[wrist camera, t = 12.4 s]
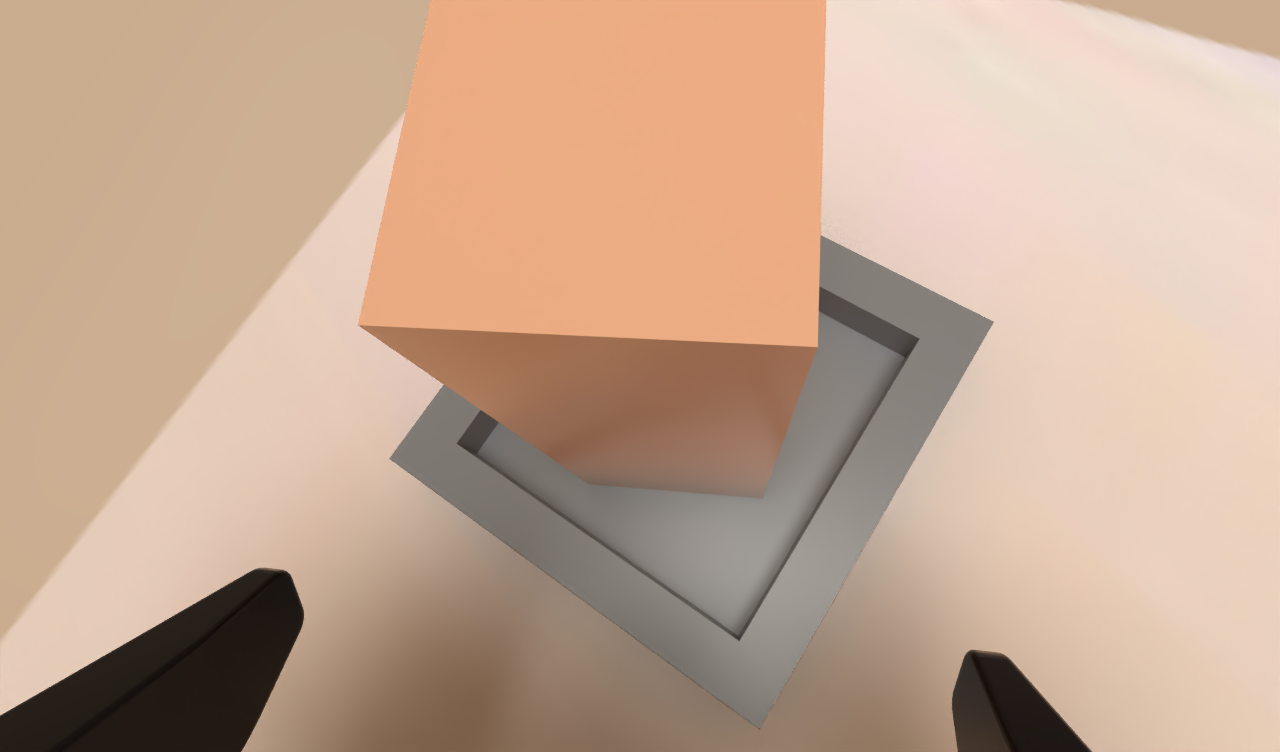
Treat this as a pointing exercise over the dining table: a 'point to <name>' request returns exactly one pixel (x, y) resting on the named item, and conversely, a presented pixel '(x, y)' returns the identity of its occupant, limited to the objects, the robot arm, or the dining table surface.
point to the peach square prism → (613, 229)
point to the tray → (720, 524)
